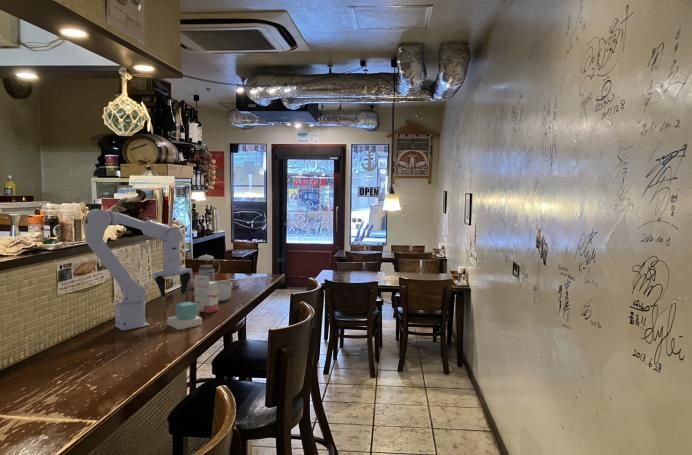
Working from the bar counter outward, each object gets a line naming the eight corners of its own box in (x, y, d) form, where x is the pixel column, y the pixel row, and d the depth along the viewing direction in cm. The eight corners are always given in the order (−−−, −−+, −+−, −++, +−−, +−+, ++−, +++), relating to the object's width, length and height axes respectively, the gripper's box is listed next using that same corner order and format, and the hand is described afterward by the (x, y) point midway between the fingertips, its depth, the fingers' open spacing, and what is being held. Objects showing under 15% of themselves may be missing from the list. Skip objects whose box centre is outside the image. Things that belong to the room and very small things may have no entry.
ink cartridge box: (219, 310, 193) (218, 274, 192) (210, 313, 189) (209, 276, 188) (203, 307, 197) (202, 272, 196) (194, 310, 193) (193, 274, 192)
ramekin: (236, 295, 219) (236, 280, 219) (226, 302, 206) (226, 286, 206) (208, 295, 221) (208, 280, 220) (196, 302, 208) (196, 286, 207)
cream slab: (177, 331, 167) (177, 322, 167) (167, 325, 174) (167, 317, 173) (202, 326, 173) (201, 318, 173) (191, 320, 180) (191, 313, 179)
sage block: (188, 318, 182) (187, 306, 182) (183, 315, 186) (182, 304, 185) (199, 315, 185) (198, 304, 185) (194, 313, 189) (193, 302, 188)
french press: (195, 283, 247) (194, 235, 245) (218, 281, 252) (217, 234, 250) (198, 287, 238) (196, 237, 236) (221, 285, 243) (220, 236, 241)
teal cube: (182, 320, 170) (182, 306, 169) (176, 317, 173) (176, 304, 173) (195, 317, 173) (195, 304, 173) (189, 315, 177) (189, 301, 176)
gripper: (156, 262, 171) (157, 299, 172) (195, 258, 180) (196, 293, 181) (149, 260, 176) (150, 296, 177) (187, 256, 185) (188, 290, 187)
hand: (173, 294), depth 180 cm, fingers open, 7 cm apart
